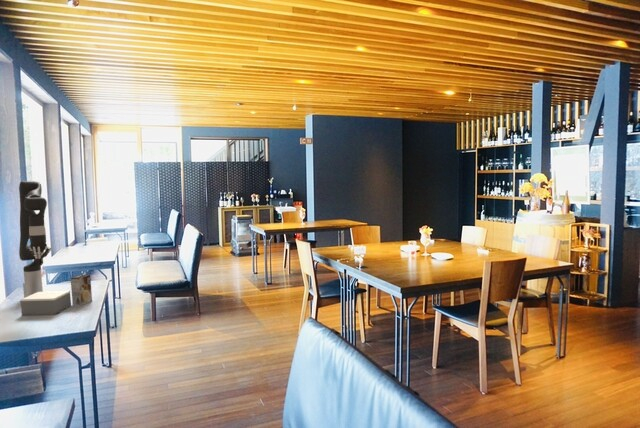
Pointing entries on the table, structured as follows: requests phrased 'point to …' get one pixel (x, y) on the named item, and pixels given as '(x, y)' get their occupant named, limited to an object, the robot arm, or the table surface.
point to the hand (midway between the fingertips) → (39, 265)
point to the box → (46, 306)
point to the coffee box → (81, 289)
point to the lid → (45, 296)
